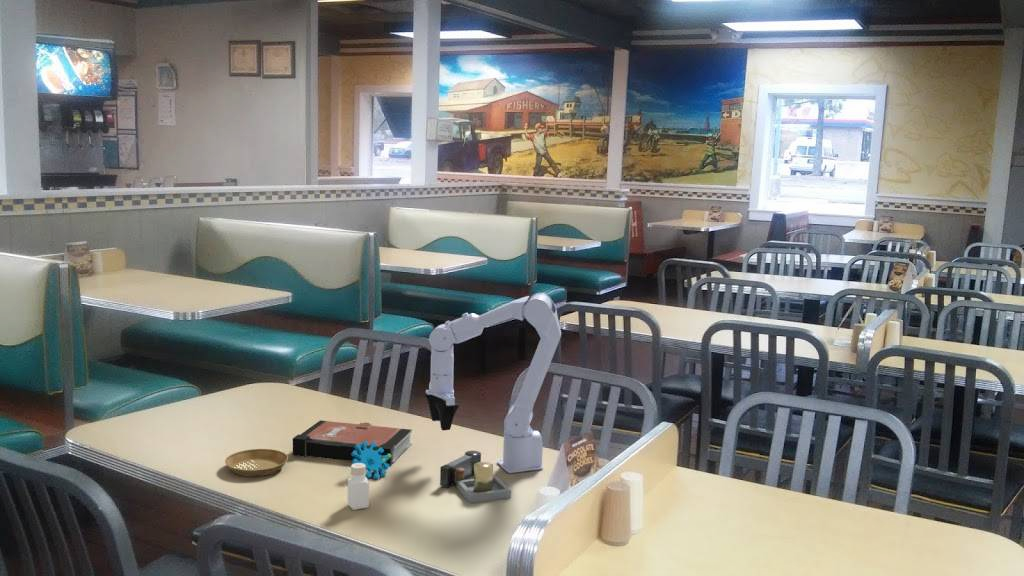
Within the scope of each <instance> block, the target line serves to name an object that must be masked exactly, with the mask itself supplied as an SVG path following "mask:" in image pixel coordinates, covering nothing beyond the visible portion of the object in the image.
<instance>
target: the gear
mask: <svg viewBox="0 0 1024 576" xmlns="http://www.w3.org/2000/svg"><path fill="white" fill-rule="evenodd" d="M367 445H368V442H366V441H363V442H362V446H363V450H361V445H360V444H357V445H356V446H355V449H356V450H357V451H358V452H359V454H360V455H359V454H358V453H357V451H356V450H354V451H353V452H352V454H351V455H352V456H354V457H357V458H358V459H359V460H360V461H358V460H357V459H356V458H355V459H353V461H351V462H352V464H355V463H363V464H365V465H366V471H367V472H366V474H365V477H366V478H367V479H368V480H369V479H370V478H371V477H373V479H374V480H379V479H380V477H384V476H386V475H387V473H388V472H387V471H388V469H389V468H390V467H391V466H390V465H389V464H387V463H386V462H387V460H388V459H389V458H390V457H391V454H387V455H385V456H382V455H379V454H378V453H380V454H381V453H383V452H384V450H383V448H382V447H380V448H379V449H378V450H373V449H372V448H375V447H376V444H375V443H374V442H372V443H371V444H370V448H369V449H367V448H366V446H367ZM379 471H380V472H379ZM373 472H374V475H373V476H372V473H373Z"/></svg>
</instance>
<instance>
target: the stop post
mask: <svg viewBox="0 0 1024 576" xmlns="http://www.w3.org/2000/svg"><path fill="white" fill-rule="evenodd" d="M455 471H456V479H455V483H454V485H455V487H456V488H457V481H461V480H465V478H464V471H465V469H464V468H456V469H455Z"/></svg>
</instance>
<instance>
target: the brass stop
mask: <svg viewBox="0 0 1024 576" xmlns="http://www.w3.org/2000/svg"><path fill="white" fill-rule="evenodd" d="M493 476H494V463H491V462H487V461H481V462H478V463H475V464H474V474H473V479H474V491H475V492H477V493H479V492H486V491H493Z"/></svg>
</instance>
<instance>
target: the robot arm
mask: <svg viewBox="0 0 1024 576" xmlns="http://www.w3.org/2000/svg"><path fill="white" fill-rule="evenodd" d="M510 319H516V320H519V321H524V319H525V320H526V321H527V322H528V323H529V324H530V325H531V326H533V328H535V330H536V332H537V334H538V335H539V337H540V339H539V341H538V344H537V348H536V349H535V352H534V355H533V357H532V360H531V362H530V365H529V367H528V371H527V372H526V375H525V378H524V379H523V380H524V381H523V383H522V386H521V388H520V390H519V393H518V395H517V398H516V401H515V402H514V403H512V405H510V407H509V409H508V413H507V415H506V416H505V417H504V419H503V420H504V421H503V426H504V429H503V445H502V446H503V448H502V449H503V450H502V452H503V453H502V454H503V455H502V459H499V460H497V461H496V463H497V464H498V465H499V466H500V467H501V468H502V469H504V471H505V472H507V473H508V474H512V473H513V474H515V473H523V472H529V471H537V470H543V469H544V466H543V450H544V449H543V446H544V445H543V437H542V435H541V433H540V432H539V430H533V428H532V427H531V422H532V420H533V417H534V412H533V411H534V410H533V408H534V405H535V404H536V401H537V398H538V394H539V392H540V390H541V388H542V386H543V383H544V380H545V377H546V375H547V373H548V370H549V367H550V365H551V363H552V360H553V358H554V355H555V352H556V350H557V348H558V346H559V342H560V341H561V337H562V331H561V326H560V322H559V316H558V311H557V306H556V304H555V303H554V301H553V300H552V298H551V297H550V296H549V295H548V294H546V293H544V292H537V293H534V294H533V295H531V296H530V295H526V296H524V297H520V298H518V299H514V300H512V301H509V302H508V303H505V304H504V305H503V304H502V305H501V306H498V307H496V308H494V309H491V310H489V311H487V312H485V313H482V314H477V313H473V312H471V313H468V312H465V313H463V314H462V315H461V317H459V318H455V319H454V320H451V321H450V320H447V321H445V322H444V323H442V324H439V325H437V326H436V327H435V328H434V329H433V330H432V331H431V333H430V335H429V337H428V340H429V341H428V342H429V344H430V347H431V349H430V351H431V354H430V382H429V384H428V389H426V390H425V393H424V397H425V399H426V401H427V405H428V408H429V412H430V416H431V417H430V418H431V420H432V422H437V421H439V422H440V424H439V425H440V429H441V431H450V430H451V427H452V424H453V420H454V417H455V414H456V412H457V410H458V409H459V408H460V403H459V402H455V401H456V397H455V396H454V395H455V393H454V392H455V390H454V370H455V369H454V361H455V359H454V358H455V357H454V355H455V354H454V344H461V343H463V342H467V341H468V340H470V339H472V338H476V337H478V336H481V335H482V333H483V330H484V328H487V327H490V326H492V325H495V324H498V323H501V322H504V321H507V320H510Z"/></svg>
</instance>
